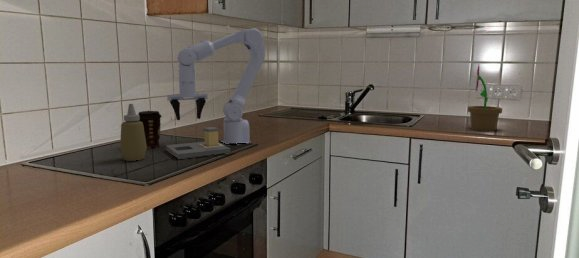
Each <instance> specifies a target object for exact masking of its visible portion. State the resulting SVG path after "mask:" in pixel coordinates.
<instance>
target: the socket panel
mask: <svg viewBox="0 0 579 258" xmlns="http://www.w3.org/2000/svg"><path fill="white" fill-rule="evenodd" d="M218 145H219V146H211V147H206V146H205V142H204V141H197V142H185V143H177V144H176V143H175V144H165V151H166V150H167V151H168V152H169V153H171V154H172V155H174V156H175V157H177V158H178V159H180V158H187V157H193V156H203V155H211V154H221V153H227V152H231V153H232V148H231V147H229V146H228V145H226V144H224V143H221V142H220V141H218ZM167 151H166V152H167ZM168 152H167V153H168ZM169 153H168V154H169ZM171 154H170V155H171ZM172 155H171V156H172ZM175 157H174V158H175Z"/></svg>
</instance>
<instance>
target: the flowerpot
mask: <svg viewBox="0 0 579 258" xmlns="http://www.w3.org/2000/svg"><path fill="white" fill-rule="evenodd" d="M476 71H477V72H476V80H475V81H476V87H475V88H476V89H475V91H476V92H478V88H479V81H481V84H482V86H483V90H481V92H480V93H479V95H480V96H481V97H483V98H484V102H483V105H470V106H469V105H468V106H467V112H469V113H470V114H469V116H470V129H471V130H472V131H476V130H477V131H476V132H495V131H496V129H497V124H498V122H499V121H498V120H499V117H500V114H502V113H503V108H502V107H499V106H490V105H489V106H488V105H487V103H488V93H487V86H486V83H485V80H484V78H482V76H481V75H480V64H478V66H477V70H476Z"/></svg>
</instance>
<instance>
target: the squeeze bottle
mask: <svg viewBox="0 0 579 258" xmlns="http://www.w3.org/2000/svg"><path fill="white" fill-rule="evenodd" d="M135 109H136V108H135V107H134V103H129V104H128V108H127V114H125V115H123V120H124V121H123V122H122V123H121V124H120V140H119V141H120V143H119V147H120V148H119V149H120V152H121V154H122V157H123V159H124V161H126V162H137V161H136V160H138V161H142V160H144V158H145V155H146V152H147V149H148V148H147V145H146V139H145V133H144V126H143V123H142V122H141V121H139V120H140V116H139V115H138V114H137V113H136V110H135Z"/></svg>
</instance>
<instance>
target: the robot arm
mask: <svg viewBox="0 0 579 258" xmlns="http://www.w3.org/2000/svg"><path fill="white" fill-rule="evenodd" d="M232 44H239V45H241V44H243V45H244V46H245V47H246V49H247V50H248V53H249V55H250V58H249V60H248V62H247V64H246V66H245V68H244V70H243V72H242V75H241V78H240V79H239V82H238V84H237V86H236V88H235V90H234V91H233V94H232V95H231V96H230V98H229V100H228V102H226V103H225V104H224V105H223V108H222V112H223V114H224V115H225V117H224V118H223V140H220V141H221V142H223V143H222V144H224V143H225V144H224V145H226V144H229V143H236V144H237V143H246V144H250V143H251V141H250V138H251V137H250V123H249V120H247V119H243V118H242V117H243V115H244V106H245V103H246V99H247V97H248V94H249V93H250V90H251V88H252V86H253V85H254V82H255V79H256V77H257V75H258V73H259V71H260V69H261V67H262V64H263V62H264V60H265V57H266V53H265V52H266V51H265V39H264V36H263V34H262V32H261V31H260V29H258V28H255V27H252V28H249V29H244V30H240V31H236V32H233V33H231V34H228V35H225V36H224V37H220V38H219V39H216V40H214V41H210V40H207V39H206V40H205V39H202V40H200V42H199V43H196V44H194V45H192V46H191V45H187V48H183V49H181V50H180V51H179V52H178V55H177V61H178V84H179V86H178V89H179V94H167V95H166V96H167V97H166V99H167V101H169V103H170V105H171V107H172V110H173V111H174V115H175V119H176V121H181V113H180V112H181V111H180V109H181V108H180V107H181V106H180V105H181V102H180V101H187V100H189V101H190V100H195V104H196V106H195V107H196V119H198V120H200V119H201V117H202V112H203V108H204V106H205V104H206V100H208V97H209V96H208V93H197V92H196V70H195V64H194V63H195V61H196V62H199V61H202V60H204V59H207V58H209V57H211V56H214V54H215V52H216V51H217V50H219V49H222V48H225V47H227V46H230V45H232ZM221 142H220V143H221ZM249 142H250V143H249ZM237 145H238V144H237Z"/></svg>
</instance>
